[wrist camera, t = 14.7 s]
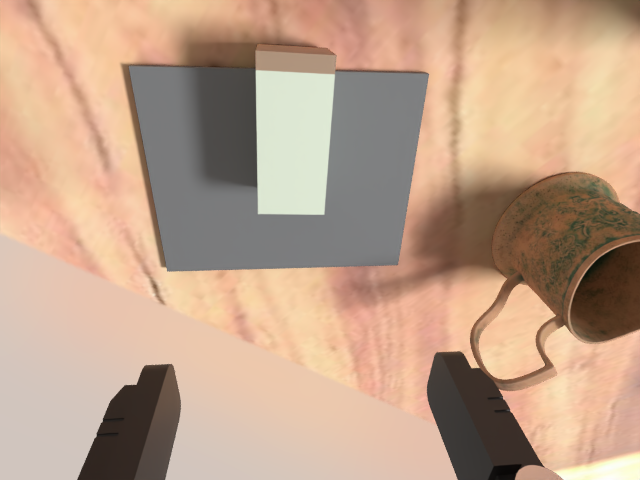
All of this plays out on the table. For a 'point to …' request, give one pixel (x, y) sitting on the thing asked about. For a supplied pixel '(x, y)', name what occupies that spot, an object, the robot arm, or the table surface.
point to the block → (293, 127)
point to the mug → (568, 264)
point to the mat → (241, 170)
